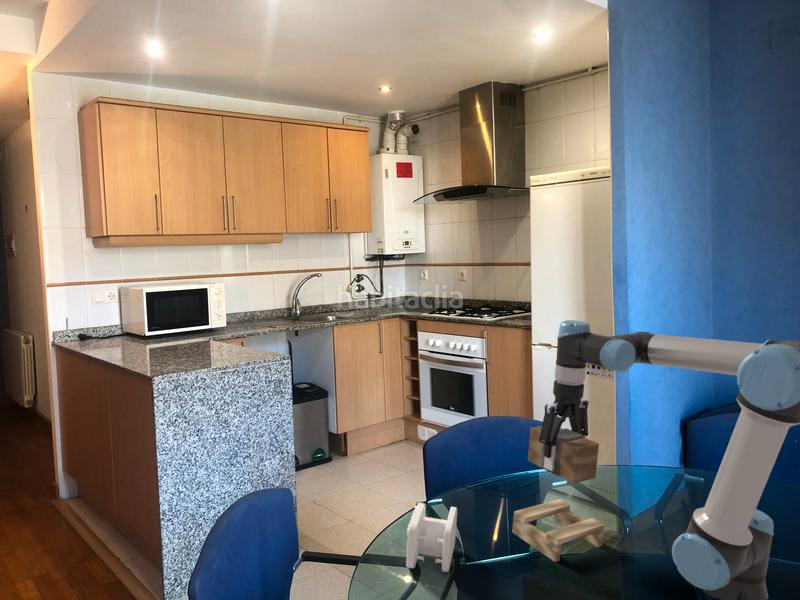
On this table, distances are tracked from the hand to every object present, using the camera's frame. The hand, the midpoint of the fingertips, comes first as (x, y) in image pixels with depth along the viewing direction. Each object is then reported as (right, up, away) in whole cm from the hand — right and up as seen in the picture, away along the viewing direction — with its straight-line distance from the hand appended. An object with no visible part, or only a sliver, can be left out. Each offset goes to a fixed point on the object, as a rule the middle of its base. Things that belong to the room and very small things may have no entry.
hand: (561, 465), depth 167 cm
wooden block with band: (0, -1, 0) cm, 1 cm away
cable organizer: (-34, -21, -9) cm, 41 cm away
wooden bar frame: (0, -21, +4) cm, 21 cm away
